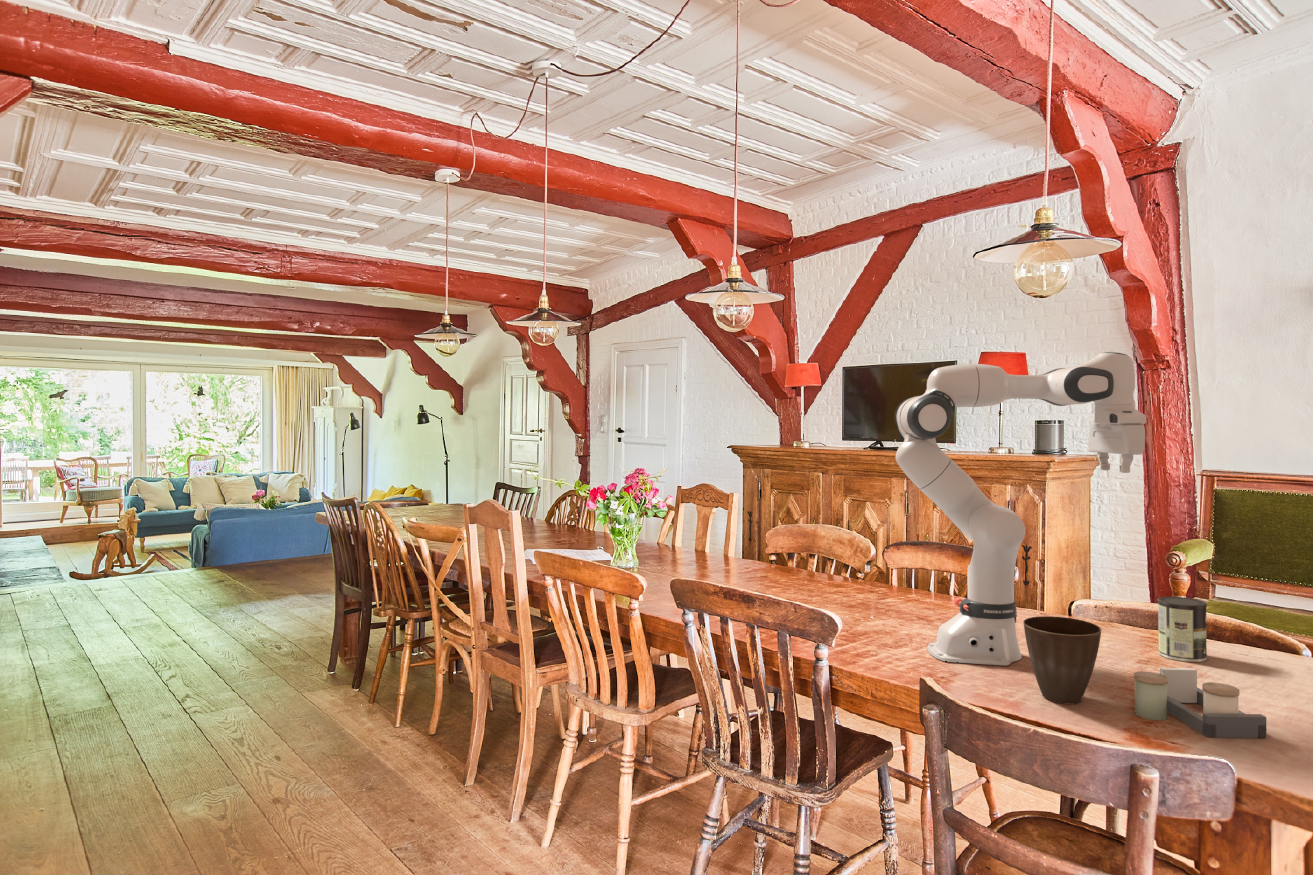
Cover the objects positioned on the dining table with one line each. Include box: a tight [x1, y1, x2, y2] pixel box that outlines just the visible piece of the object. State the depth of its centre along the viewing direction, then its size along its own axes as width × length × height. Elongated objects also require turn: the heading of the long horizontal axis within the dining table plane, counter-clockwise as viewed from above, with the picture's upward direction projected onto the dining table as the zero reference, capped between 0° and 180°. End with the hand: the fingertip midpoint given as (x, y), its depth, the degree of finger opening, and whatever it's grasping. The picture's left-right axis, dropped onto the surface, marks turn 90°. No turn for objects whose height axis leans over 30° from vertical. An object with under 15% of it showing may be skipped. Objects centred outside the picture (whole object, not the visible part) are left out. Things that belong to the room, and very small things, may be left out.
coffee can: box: [1157, 596, 1208, 663], centre depth 192 cm, size 10×10×14 cm
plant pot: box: [1023, 615, 1102, 704], centre depth 165 cm, size 15×15×16 cm
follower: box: [1159, 667, 1198, 704], centre depth 162 cm, size 7×4×7 cm, turn 86°
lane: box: [1167, 687, 1267, 739], centre depth 154 cm, size 10×21×4 cm, turn 176°
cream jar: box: [1201, 682, 1240, 714], centre depth 148 cm, size 6×6×8 cm
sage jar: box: [1133, 671, 1168, 721], centre depth 155 cm, size 6×6×8 cm
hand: (1114, 471), depth 192 cm, fingers open, 8 cm apart
